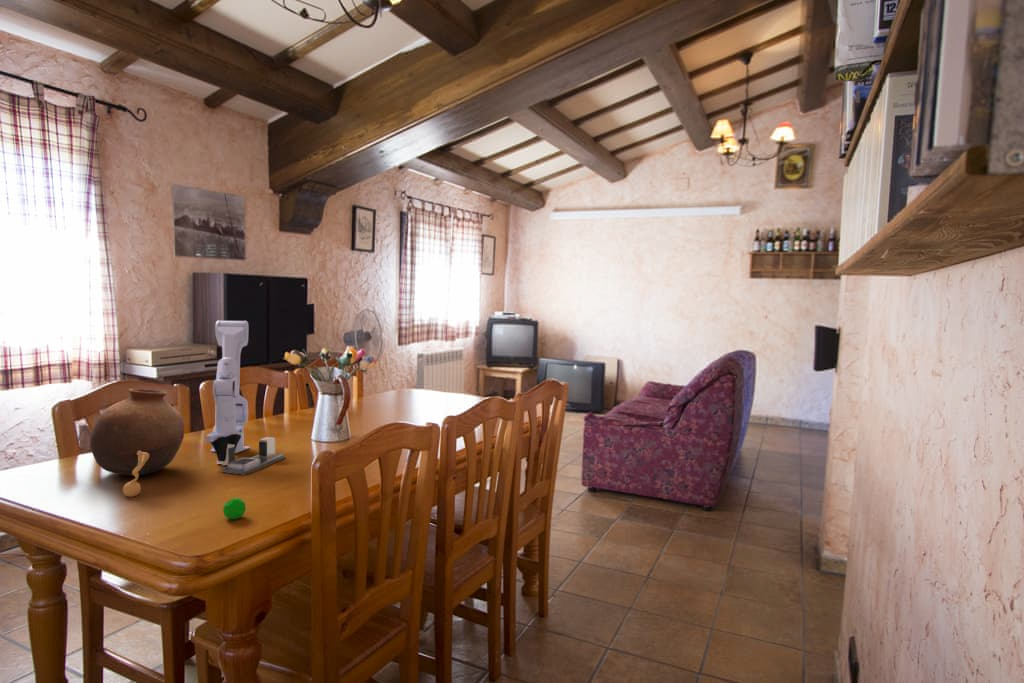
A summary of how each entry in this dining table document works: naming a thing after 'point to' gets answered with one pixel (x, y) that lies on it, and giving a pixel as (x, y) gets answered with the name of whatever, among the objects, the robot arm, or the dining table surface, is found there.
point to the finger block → (228, 455)
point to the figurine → (133, 486)
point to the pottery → (137, 433)
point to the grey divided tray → (255, 458)
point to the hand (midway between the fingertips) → (225, 459)
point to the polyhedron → (234, 508)
